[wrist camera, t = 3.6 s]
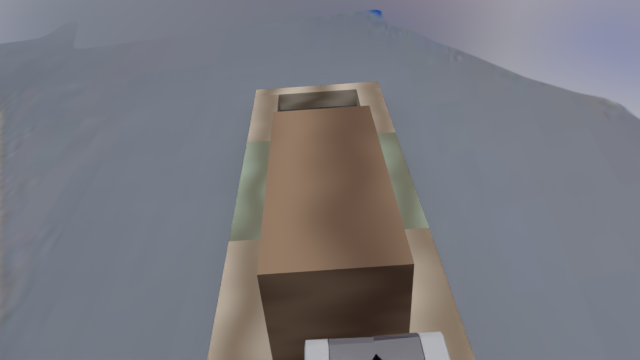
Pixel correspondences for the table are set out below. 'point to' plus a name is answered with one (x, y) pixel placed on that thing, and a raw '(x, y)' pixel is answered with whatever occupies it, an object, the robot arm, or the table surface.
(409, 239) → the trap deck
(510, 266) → the table surface
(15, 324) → the table surface
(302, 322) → the walnut block
